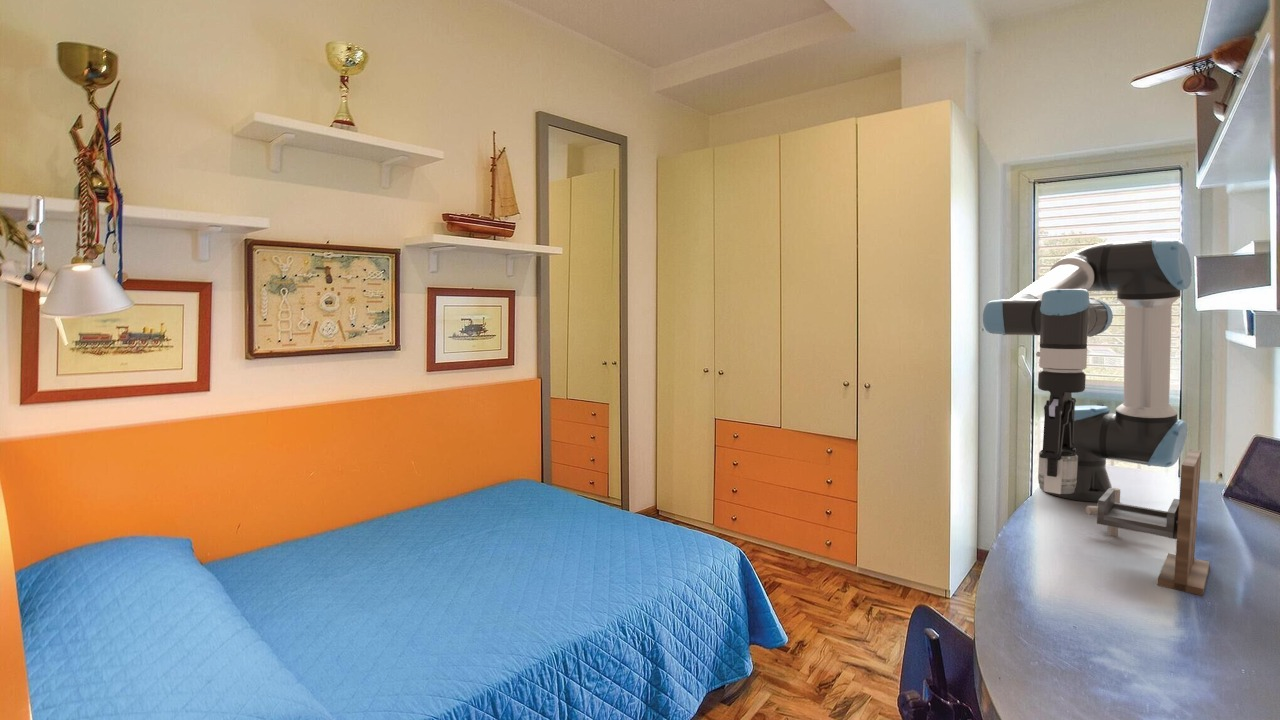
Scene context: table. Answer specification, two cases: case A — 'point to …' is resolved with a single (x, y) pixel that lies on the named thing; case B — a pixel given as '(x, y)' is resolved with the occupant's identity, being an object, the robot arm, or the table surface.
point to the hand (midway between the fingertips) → (1056, 488)
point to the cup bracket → (1167, 528)
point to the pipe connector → (1094, 511)
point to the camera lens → (1067, 471)
